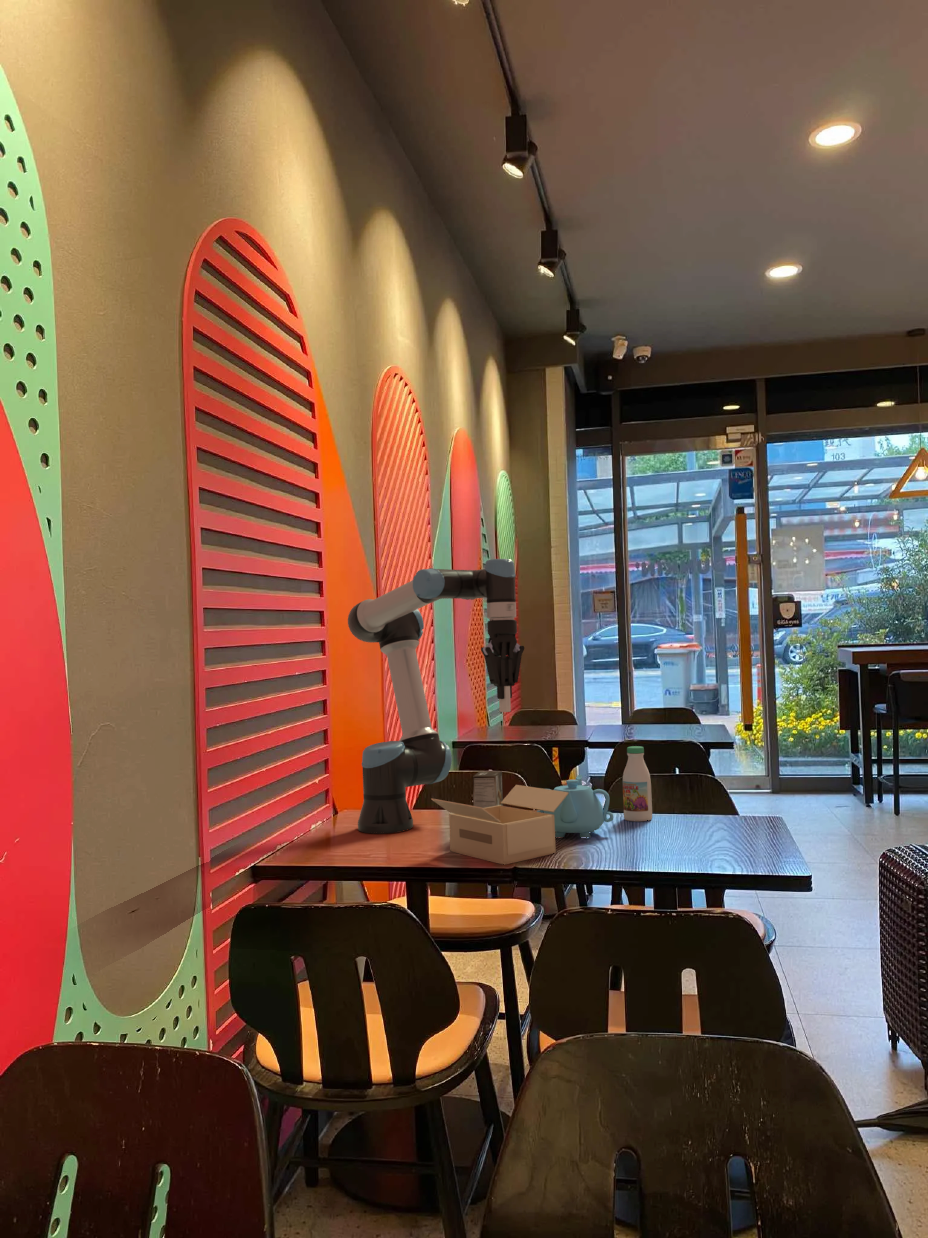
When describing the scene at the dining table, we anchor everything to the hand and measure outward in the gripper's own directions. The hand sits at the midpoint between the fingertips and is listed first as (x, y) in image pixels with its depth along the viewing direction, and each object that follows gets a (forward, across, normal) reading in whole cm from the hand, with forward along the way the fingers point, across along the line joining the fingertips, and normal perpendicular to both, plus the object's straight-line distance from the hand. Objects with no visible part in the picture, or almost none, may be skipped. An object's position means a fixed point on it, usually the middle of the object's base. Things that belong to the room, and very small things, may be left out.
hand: (505, 711), depth 241 cm
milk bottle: (+33, +41, -6) cm, 53 cm away
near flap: (+23, -19, -10) cm, 31 cm away
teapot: (+33, +15, -8) cm, 37 cm away
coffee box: (+33, 0, +8) cm, 34 cm away
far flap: (+23, -3, -10) cm, 25 cm away
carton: (+32, -11, -10) cm, 36 cm away
